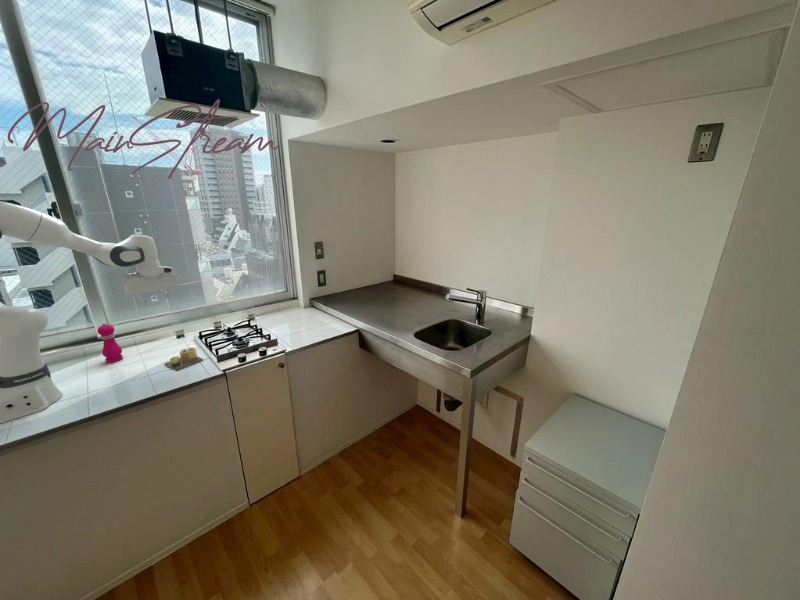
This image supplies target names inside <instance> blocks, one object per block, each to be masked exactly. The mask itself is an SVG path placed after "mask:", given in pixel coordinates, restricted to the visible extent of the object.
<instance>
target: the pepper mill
mask: <svg viewBox="0 0 800 600" xmlns="http://www.w3.org/2000/svg"><path fill="white" fill-rule="evenodd" d="M97 334H98V335H100V340H102V342H103V347H102V350H101V352H102V357H105V362H106V363H107V364H113V363H117V362H120V361H122V360H123V359H124V356H123V354H122V352H123V348H122V347H121V346H120V345H119V344H118V343H117V342H116V339H115V337H116V335H115V327H114V326H113V325H112V324H108V323H107V322H105V321H102V322H101V325H100V326H98V328H97Z"/></svg>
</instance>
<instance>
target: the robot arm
mask: <svg viewBox="0 0 800 600" xmlns="http://www.w3.org/2000/svg"><path fill="white" fill-rule="evenodd" d="M3 236H6V237H10V238H14V239H18V240H22V241H24V242H28V243H31V244H32V243H33V244H36V245H41V246H46V247H50V248H51V247H52V248H66V249H69V250H72V251H75V252H78V253H82V254H84V255H87V256H90V257H92V258H93V259H95V260H96V261H97V262H99V263H101V264H102V265H105V266H111V267H118V268H119V267H120V268H128V267H132V266H135V269H136V272H132V273H125V274H124V275H123V276H122V277H121V282H122V284H123V287H124V289H123V290H124V293H125V295H128V296H135V295H136V297H137V298H138V299H139V300H140V302H141V304H145V303H148V300H147V298H145V297H143V294H145V293H152V292H156V291H160V290H161V291H162V290H166V293H164V295H163V296H164V298H165V299H168V298H171V293H172V292H171V291H172V288H176V287H179V286H180V282H179V277H178V276H177V273H175V269H174V268H173V267H171V266H166V265H161V262H160V261H159V258H158V257H159V252H158V249H157V246H156V242H155V240H154V238H153V237H152V236H150V235H147V234H135V233H134V234H130V235H129V237H127V238H126V239H124V240H122V241H119V242H117V243H115V242H111V241H107V242H106V241H103V242H101V241H96V240H94V239H91V238H88V237H85V236H83V235H80V234H77V233H74V232H73V231H71V230H70V229H69V227H68V226H67V224H66V223H65V222H63V221H61V220H60V219H57V218H56V217H53V216H51V215H49V214H46V213H43V212H41V211H37V210H35V209H32V208H28V207H26V206H22V205H18V204H14V203H10V202H5V201H1V200H0V239H2V238H3ZM48 325H49V319H48V315H47V314H46V313H45V312H44V311H43V310H41V309H39V308H34V307H30V306H21V305H6V304H4V303H3V302H1V301H0V424H3V423H6V422H10V421H13V420H15V419H18V418H22V417H25V416H28V415H33V414H35V413H37V412H38V413H39V412H41V411H44V410H45V409H47V408H49V407H50V406H51V405H52V404H53V403H55V402H57V401H59V400H60V399H61V398H62V396H63V392H61V390H59V389H58V387H57V385H56V384H55V383H54V381H53V379H52V378H51V377H52V375H51V371H50V368H49V365H48V364H46V363H45V361H44V359H43V355H42V352H41V349H40V336H41V333H43V331H45V330H46V328H47V326H48Z"/></svg>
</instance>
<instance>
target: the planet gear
mask: <svg viewBox="0 0 800 600" xmlns="http://www.w3.org/2000/svg"><path fill="white" fill-rule="evenodd" d="M188 348H189V349H190V351H189V352H185V349H186V348H184V349H181V350H180V351H179V356H180V358H181V361H183V362H189V361H192V360H195V359H196V358H197V357H198V353H197V350H196V348H195V347H188Z"/></svg>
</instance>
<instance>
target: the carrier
mask: <svg viewBox="0 0 800 600" xmlns="http://www.w3.org/2000/svg"><path fill="white" fill-rule="evenodd" d="M189 348H190V347H186V348H184V349H185V352H189V351H190V349H189ZM201 362H204V358H203V357H200V356H197V358H196V359H195V360H192V361H189V362H183V361H181V357H179V356H172V357H171V358H169V361H167V362H165V363H164V366H166V367H167V368H169V369H171V370H172V371H175V372H178V371H181V370H184V369H186V368H189V367H191V366H194V365H196V364H198V363H201Z"/></svg>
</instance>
